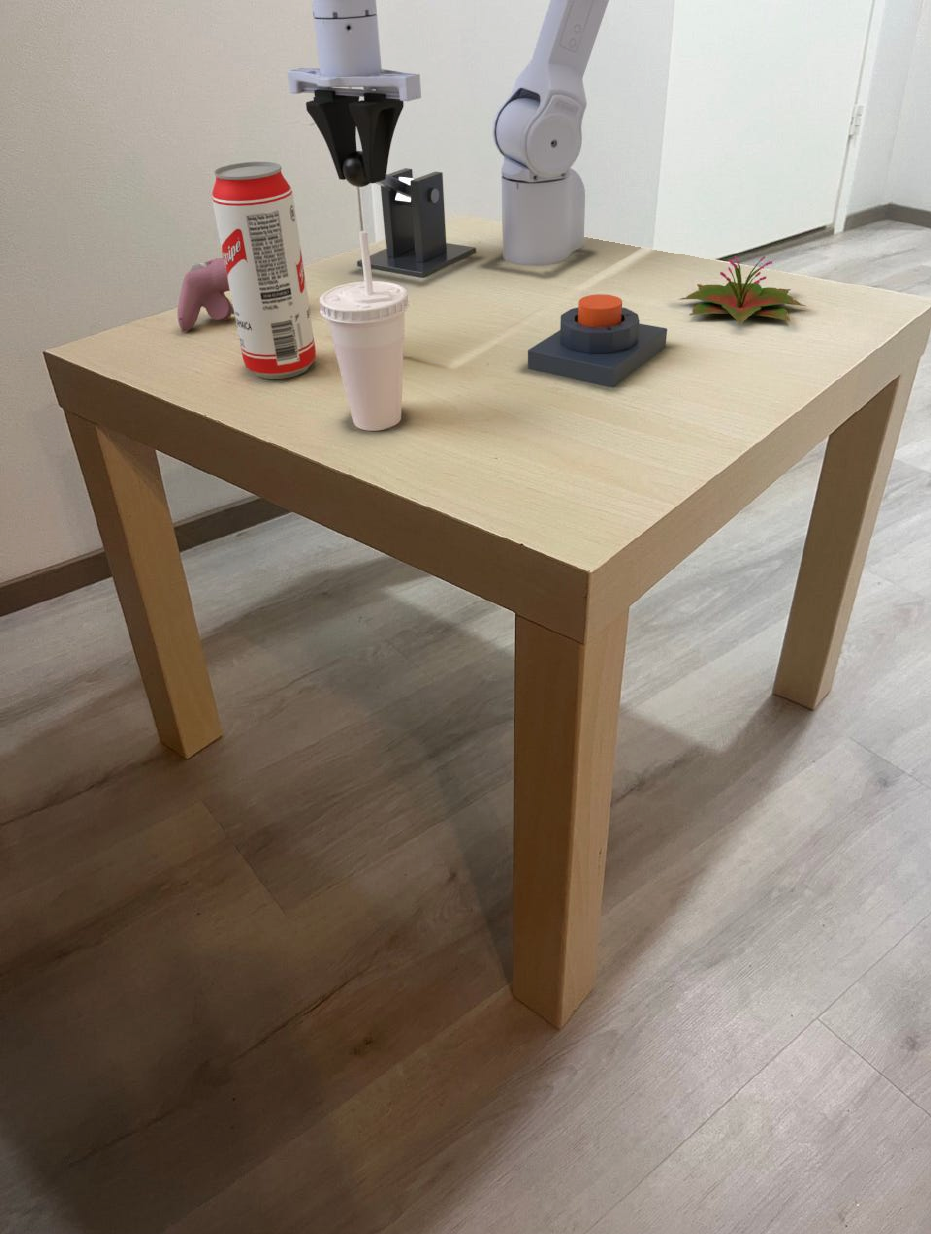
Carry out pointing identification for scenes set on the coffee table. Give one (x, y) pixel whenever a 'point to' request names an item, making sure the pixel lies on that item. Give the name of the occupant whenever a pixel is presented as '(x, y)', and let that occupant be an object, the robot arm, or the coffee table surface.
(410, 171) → the bracket
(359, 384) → the smoothie
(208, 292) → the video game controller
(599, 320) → the button
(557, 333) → the button box
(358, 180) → the lever
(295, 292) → the beer can
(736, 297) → the lily flower
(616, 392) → the coffee table surface
